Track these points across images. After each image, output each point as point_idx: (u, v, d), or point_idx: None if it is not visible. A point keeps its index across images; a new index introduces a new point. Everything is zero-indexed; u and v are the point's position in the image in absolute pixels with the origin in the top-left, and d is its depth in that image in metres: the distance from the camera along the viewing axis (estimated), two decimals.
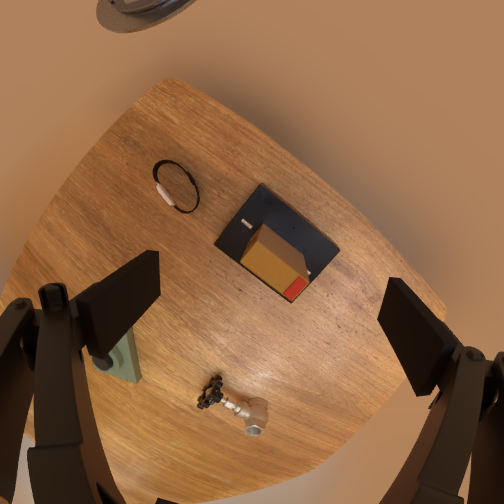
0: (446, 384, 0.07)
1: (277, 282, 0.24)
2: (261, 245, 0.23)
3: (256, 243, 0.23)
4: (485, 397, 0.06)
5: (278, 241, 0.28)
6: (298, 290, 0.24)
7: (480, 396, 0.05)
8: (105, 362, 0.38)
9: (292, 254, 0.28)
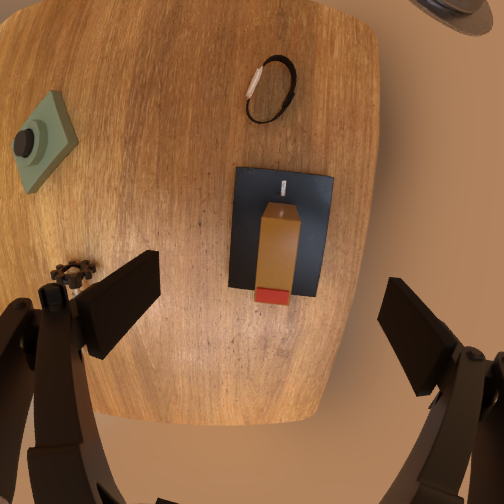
0: (446, 384, 0.07)
1: (266, 273, 0.18)
2: (298, 229, 0.17)
3: (297, 222, 0.17)
4: (485, 397, 0.06)
5: None
6: (273, 301, 0.18)
7: (480, 396, 0.05)
8: (23, 147, 0.23)
9: None
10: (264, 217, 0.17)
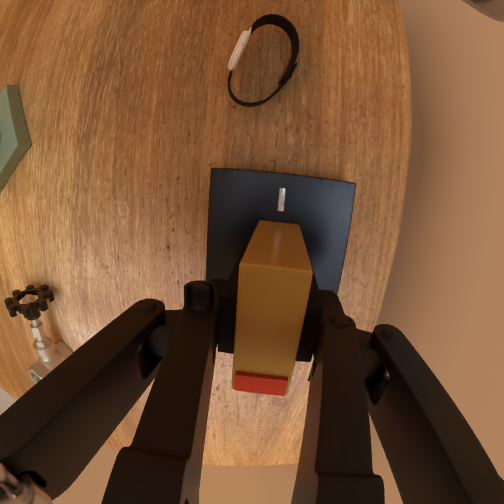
0: (318, 355, 0.10)
1: (250, 353, 0.10)
2: (307, 285, 0.09)
3: (306, 273, 0.09)
4: (363, 370, 0.09)
5: None
6: (261, 391, 0.10)
7: (359, 363, 0.07)
8: None
9: None
10: (245, 263, 0.09)
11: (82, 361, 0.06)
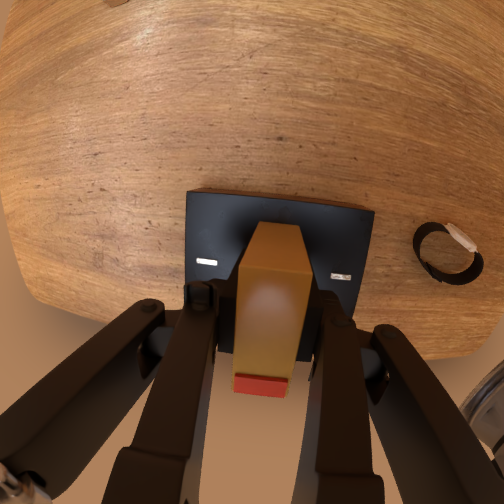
0: (318, 355, 0.10)
1: (249, 355, 0.10)
2: (307, 287, 0.09)
3: (306, 275, 0.09)
4: (363, 370, 0.09)
5: None
6: (261, 393, 0.10)
7: (359, 363, 0.07)
8: None
9: None
10: (244, 264, 0.09)
11: (82, 361, 0.06)
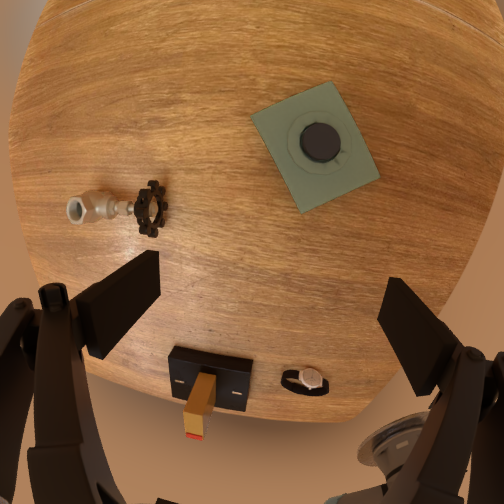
0: (446, 384, 0.07)
1: (189, 428, 0.29)
2: (201, 418, 0.28)
3: (200, 416, 0.28)
4: (485, 397, 0.06)
5: (211, 398, 0.33)
6: (194, 438, 0.29)
7: (480, 396, 0.05)
8: (313, 151, 0.24)
9: (210, 410, 0.33)
10: (184, 411, 0.28)
11: None
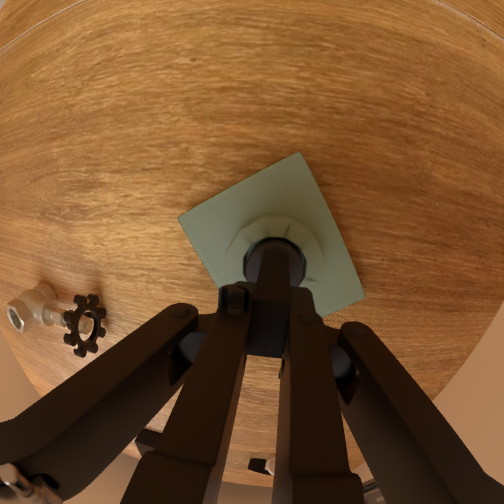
0: (286, 352, 0.10)
1: None
2: None
3: None
4: None
5: None
6: None
7: (328, 359, 0.07)
8: None
9: None
10: None
11: (108, 366, 0.06)
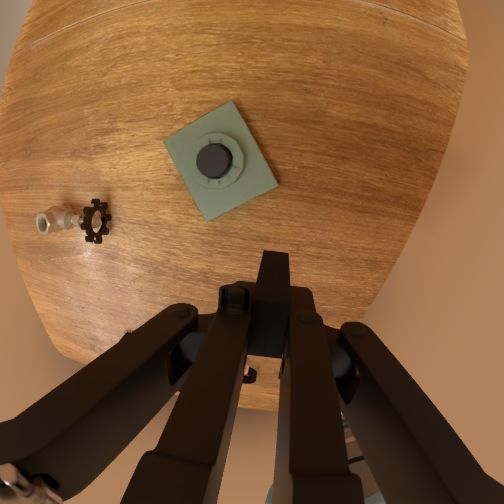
0: (286, 352, 0.10)
1: None
2: None
3: None
4: None
5: None
6: None
7: (328, 359, 0.07)
8: (204, 170, 0.29)
9: None
10: None
11: (108, 366, 0.06)
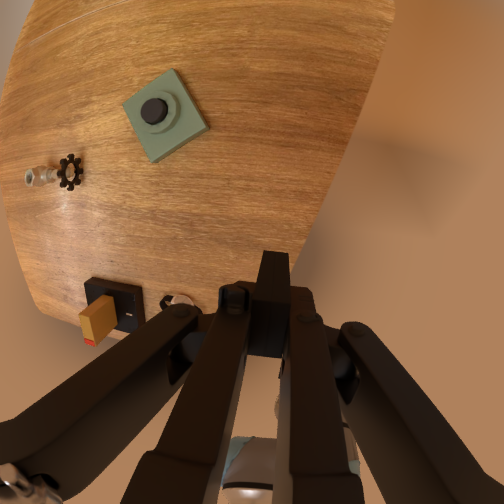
0: (286, 352, 0.10)
1: (85, 333, 0.38)
2: (89, 320, 0.37)
3: (88, 317, 0.37)
4: None
5: (107, 314, 0.42)
6: (90, 344, 0.38)
7: (328, 359, 0.07)
8: (145, 118, 0.32)
9: (107, 325, 0.42)
10: (79, 314, 0.37)
11: (108, 366, 0.06)
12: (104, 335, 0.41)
